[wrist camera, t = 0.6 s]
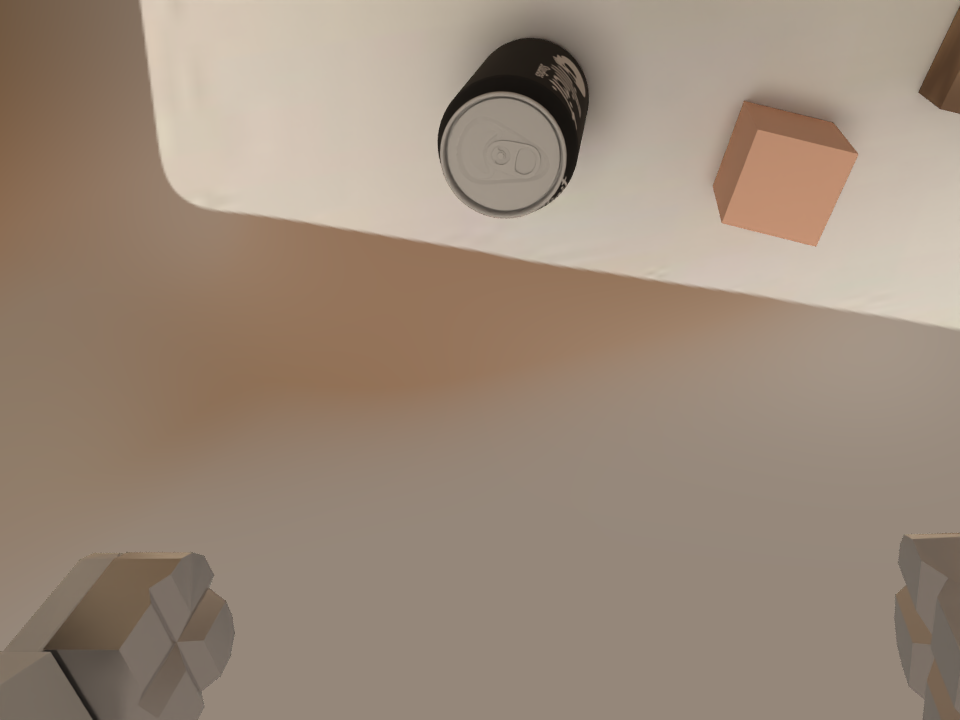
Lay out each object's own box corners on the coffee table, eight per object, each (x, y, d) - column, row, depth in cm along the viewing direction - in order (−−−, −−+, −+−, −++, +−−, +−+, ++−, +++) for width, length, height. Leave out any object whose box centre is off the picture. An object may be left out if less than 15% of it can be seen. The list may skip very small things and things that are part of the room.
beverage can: (487, 23, 45) (443, 66, 34) (603, 51, 44) (593, 102, 34) (465, 138, 48) (420, 208, 38) (572, 165, 48) (555, 242, 38)
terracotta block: (744, 100, 45) (757, 129, 39) (833, 122, 44) (858, 154, 39) (712, 185, 47) (721, 223, 42) (796, 206, 47) (815, 246, 42)
